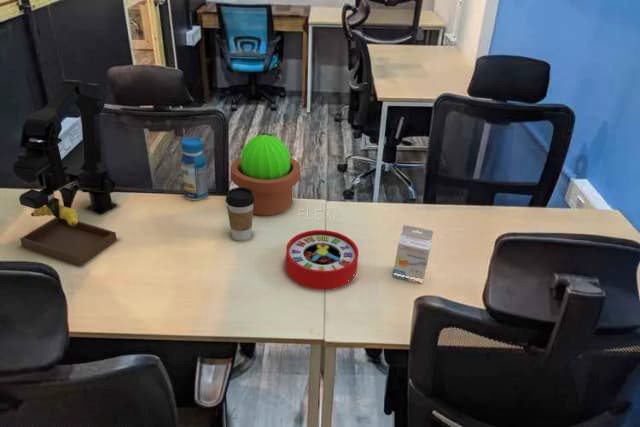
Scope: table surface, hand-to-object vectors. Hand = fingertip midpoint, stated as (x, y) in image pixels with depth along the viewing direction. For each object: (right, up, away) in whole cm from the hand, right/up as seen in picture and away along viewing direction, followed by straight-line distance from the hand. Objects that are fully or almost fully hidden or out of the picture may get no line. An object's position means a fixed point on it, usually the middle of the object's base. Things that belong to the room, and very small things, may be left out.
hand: (62, 214), depth 141 cm
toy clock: (+72, -15, +2) cm, 74 cm away
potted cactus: (+53, +4, +30) cm, 61 cm away
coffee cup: (+48, -7, +13) cm, 50 cm away
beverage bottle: (+29, +6, +32) cm, 44 cm away
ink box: (+97, -17, 0) cm, 98 cm away
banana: (-1, -1, 0) cm, 1 cm away
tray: (0, -8, +5) cm, 10 cm away
